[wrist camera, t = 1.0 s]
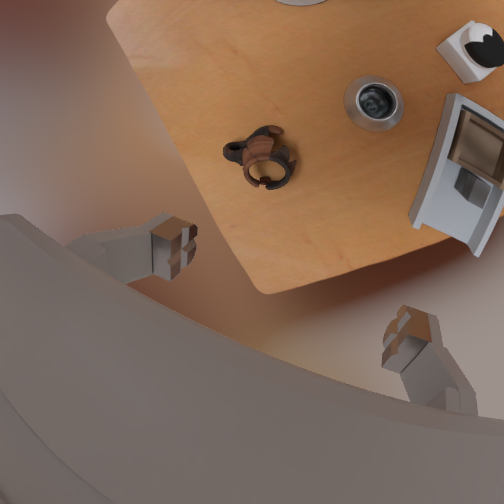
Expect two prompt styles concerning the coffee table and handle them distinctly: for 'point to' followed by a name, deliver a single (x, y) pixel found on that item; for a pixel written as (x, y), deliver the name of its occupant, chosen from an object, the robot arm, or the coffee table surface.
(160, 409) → the robot arm
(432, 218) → the bay
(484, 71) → the medicine bottle
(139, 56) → the coffee table surface
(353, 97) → the plastic bottle
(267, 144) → the broken clay pot
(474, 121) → the crate
